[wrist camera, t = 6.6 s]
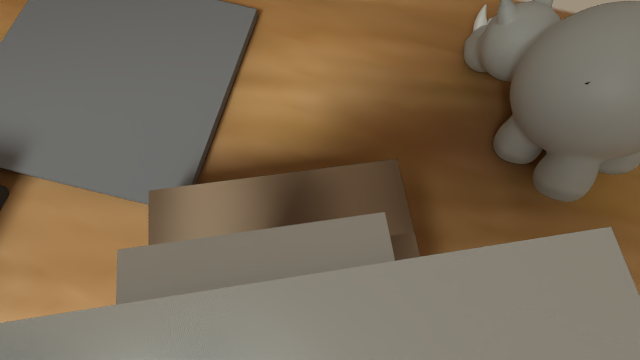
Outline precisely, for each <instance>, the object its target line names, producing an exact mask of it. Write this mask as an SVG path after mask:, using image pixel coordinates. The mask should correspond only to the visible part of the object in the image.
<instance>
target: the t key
mask: <svg viewBox="0 0 640 360" xmlns="http://www.w3.org/2000/svg"><path fill="white" fill-rule="evenodd" d="M0 360H640V296H639V294H638V291H637V289H636V286H635V284H634V281H633V279H632V277H631V274H630V272H629V269H628V267H627V264H626V262H625V259H624V257H623V255H622V252H621V250H620V247H619V245H618V242H617V240H616V238H615V235H614V233H613V230H612V228H611V227H606V228H600V229H593V230H587V231H581V232H574V233H568V234H562V235H555V236H549V237H543V238H536V239H530V240H524V241H517V242H511V243H505V244H498V245H492V246H486V247H479V248H473V249H467V250H460V251H454V252H448V253H441V254H435V255H429V256H422V257H416V258H410V259H403V260H397V261H395V258H394V253H393V248H392V243H391V239H390V234H389V229H388V225H387V220H386V215H385V212H381V213H374V214H367V215H360V216H353V217H346V218H339V219H332V220H325V221H317V222H310V223H303V224H296V225H289V226H282V227H275V228H268V229H261V230H254V231H247V232H240V233H233V234H226V235H218V236H211V237H204V238H197V239H190V240H183V241H176V242H169V243H162V244H155V245H148V246H141V247H134V248H127V249H119V250H118V253H117V290H116V305H112V306H105V307H99V308H93V309H86V310H80V311H74V312H67V313H61V314H55V315H48V316H42V317H36V318H29V319H23V320H17V321H10V322H4V323H0Z"/></svg>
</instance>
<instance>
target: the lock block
mask: <svg viewBox="0 0 640 360" xmlns="http://www.w3.org/2000/svg"><path fill="white" fill-rule="evenodd" d="M381 212H385V215H386V220H387V225H388V229H389V234H390V239H391V243H392V248H393V253H394V257H395V259H396V261H397V260H403V259H410V258H416V257H420V253H419V249H418V244H417V240H416V236H415V232H414V227H413V223H412V219H411V215H410V210H409V206H408V202H407V198H406V194H405V189H404V185H403V181H402V177H401V172H400V168H399V164H398V160H397V159H392V160H384V161H376V162H368V163H360V164H353V165H345V166H337V167H329V168H321V169H313V170H306V171H298V172H290V173H282V174H274V175H266V176H259V177H251V178H243V179H235V180H227V181H220V182H212V183H204V184H196V185H188V186H180V187H173V188H165V189H157V190H149V245H155V244H162V243H169V242H176V241H183V240H190V239H197V238H204V237H211V236H218V235H226V234H233V233H240V232H247V231H254V230H261V229H268V228H275V227H282V226H289V225H296V224H303V223H310V222H317V221H325V220H332V219H339V218H346V217H353V216H360V215H367V214H374V213H381Z"/></svg>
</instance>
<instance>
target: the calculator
mask: <svg viewBox="0 0 640 360" xmlns="http://www.w3.org/2000/svg"><path fill="white" fill-rule="evenodd" d="M8 195H9V190H8V188H6V187H4V186H1V185H0V210H1V208H2V207H3V205H4V203H5V201H6V199H7V197H8Z"/></svg>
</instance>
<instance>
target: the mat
mask: <svg viewBox="0 0 640 360" xmlns="http://www.w3.org/2000/svg"><path fill="white" fill-rule="evenodd" d="M257 17H258V14H257V9H254V8H249V7H245V6H241V5H237V4H232V3H228V2H224V1H219V0H28V2H27V3H26V5H25V6H24V8H23V9H22V11H21V12H20V14H19V15H18V17H17V19H16V20H15V22H14V23H13V25H12V26H11V28H10V29H9V31H8V32H7V34H6V35H5V37H4V38H3V40H2V41H1V43H0V168H1V169H5V170H9V171H13V172H17V173H21V174H25V175H29V176H33V177H37V178H41V179H46V180H50V181H54V182H58V183H62V184H66V185H70V186H74V187H78V188H82V189H86V190H91V191H95V192H99V193H103V194H107V195H111V196H115V197H119V198H123V199H127V200H131V201H135V202H140V203H144V204H148V205H149V190H157V189H165V188H173V187H180V186H188V185H196V183H197V180H198V177H199V175H200V172H201V169H202V167H203V164H204V161H205V158H206V156H207V153H208V150H209V148H210V145H211V142H212V139H213V137H214V134H215V131H216V129H217V126H218V123H219V120H220V118H221V115H222V112H223V110H224V107H225V104H226V101H227V99H228V96H229V93H230V91H231V88H232V85H233V82H234V80H235V77H236V74H237V72H238V69H239V66H240V63H241V61H242V58H243V55H244V53H245V50H246V47H247V44H248V42H249V39H250V36H251V34H252V31H253V28H254V25H255V23H256V20H257Z"/></svg>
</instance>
